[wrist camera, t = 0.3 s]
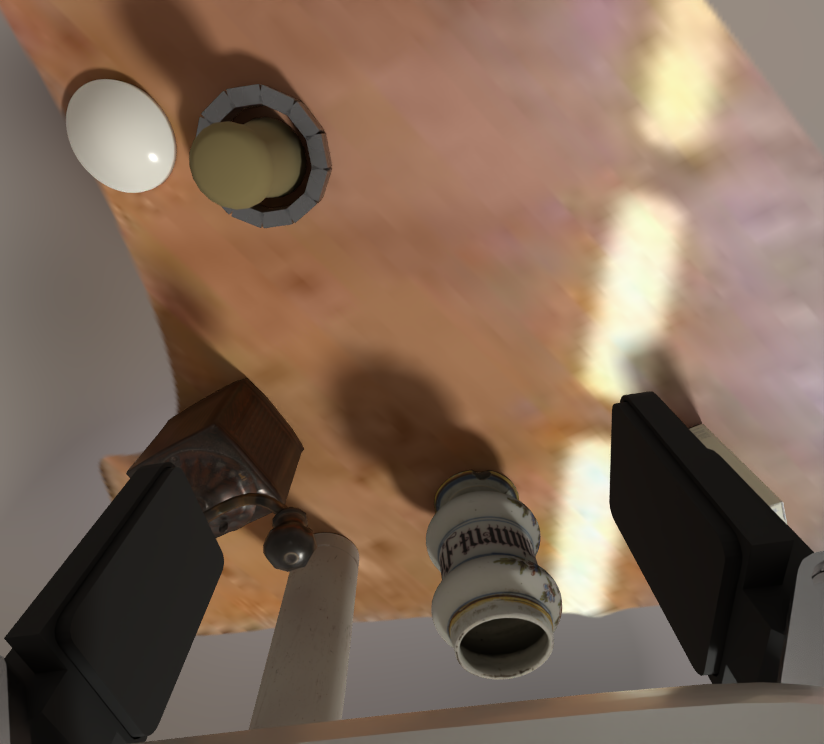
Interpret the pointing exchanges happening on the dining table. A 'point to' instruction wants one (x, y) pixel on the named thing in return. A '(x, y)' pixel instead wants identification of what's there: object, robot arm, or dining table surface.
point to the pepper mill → (239, 467)
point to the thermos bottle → (311, 640)
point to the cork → (247, 162)
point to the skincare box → (740, 469)
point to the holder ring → (306, 123)
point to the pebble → (121, 135)
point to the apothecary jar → (491, 577)
